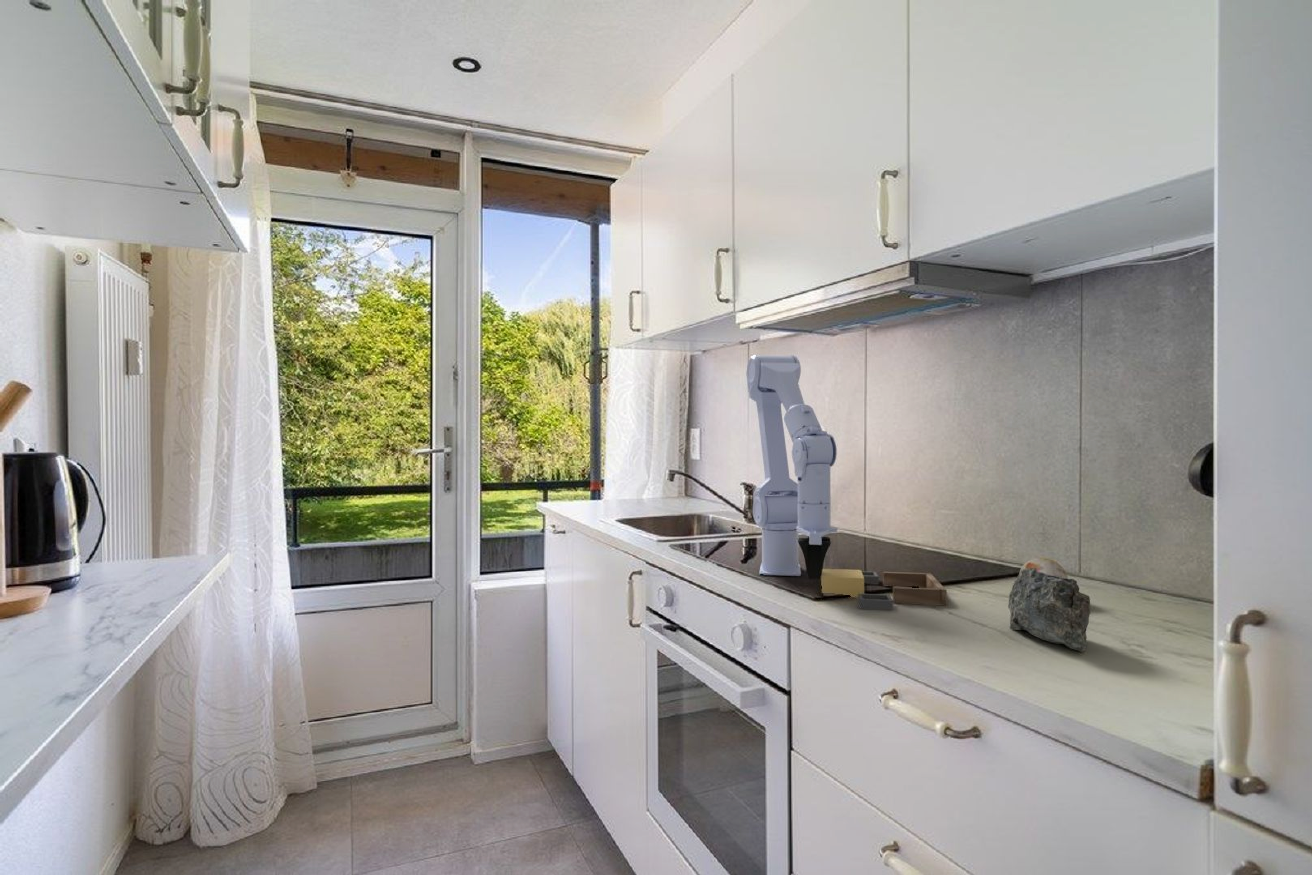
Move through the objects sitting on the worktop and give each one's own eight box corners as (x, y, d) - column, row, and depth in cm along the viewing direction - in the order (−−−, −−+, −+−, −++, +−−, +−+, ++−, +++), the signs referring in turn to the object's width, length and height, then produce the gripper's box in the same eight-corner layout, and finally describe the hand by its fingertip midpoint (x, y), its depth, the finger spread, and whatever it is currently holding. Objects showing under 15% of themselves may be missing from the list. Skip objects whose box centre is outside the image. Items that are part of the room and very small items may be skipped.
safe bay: (882, 585, 127) (883, 571, 127) (930, 586, 125) (930, 573, 125) (893, 603, 114) (893, 588, 114) (946, 605, 113) (946, 590, 113)
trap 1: (848, 578, 132) (848, 570, 132) (875, 579, 131) (875, 571, 131) (850, 583, 128) (850, 575, 128) (878, 584, 128) (878, 576, 128)
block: (821, 587, 126) (821, 568, 126) (860, 589, 125) (860, 569, 125) (822, 596, 119) (822, 576, 119) (864, 598, 118) (864, 578, 118)
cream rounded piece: (1026, 612, 109) (1010, 552, 114) (1032, 625, 117) (1017, 568, 122) (1079, 605, 106) (1061, 544, 111) (1082, 620, 113) (1065, 561, 118)
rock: (973, 631, 99) (974, 561, 99) (1019, 622, 103) (1019, 555, 103) (1070, 661, 86) (1070, 581, 86) (1117, 649, 91) (1118, 573, 90)
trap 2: (858, 602, 115) (857, 593, 115) (889, 603, 114) (889, 594, 114) (860, 608, 111) (860, 599, 111) (893, 610, 110) (893, 600, 110)
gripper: (840, 507, 115) (840, 588, 115) (834, 498, 129) (834, 570, 129) (796, 506, 116) (797, 587, 116) (796, 498, 130) (796, 569, 131)
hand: (814, 578), depth 123 cm, fingers closed
